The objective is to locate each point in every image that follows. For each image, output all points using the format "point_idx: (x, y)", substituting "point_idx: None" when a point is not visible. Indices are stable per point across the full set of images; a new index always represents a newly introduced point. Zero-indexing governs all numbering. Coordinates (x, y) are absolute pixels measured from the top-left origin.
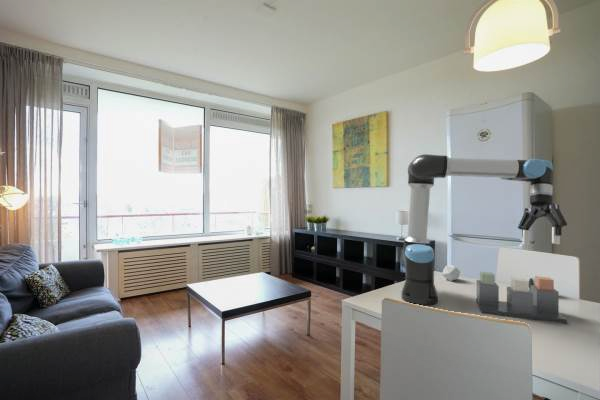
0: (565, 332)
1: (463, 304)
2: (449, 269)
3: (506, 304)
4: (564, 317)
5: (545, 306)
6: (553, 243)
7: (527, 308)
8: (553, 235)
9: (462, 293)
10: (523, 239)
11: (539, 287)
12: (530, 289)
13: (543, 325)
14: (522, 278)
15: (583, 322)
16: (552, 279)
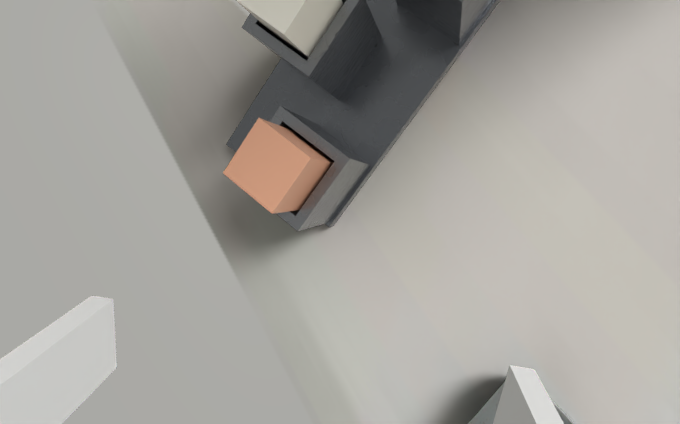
0: (192, 68)
1: None
2: None
3: (402, 58)
4: None
5: None
6: (111, 314)
7: None
8: (13, 351)
9: (663, 9)
10: (545, 418)
11: (278, 125)
12: (562, 420)
13: (243, 50)
14: (288, 22)
15: (230, 214)
16: (232, 180)
